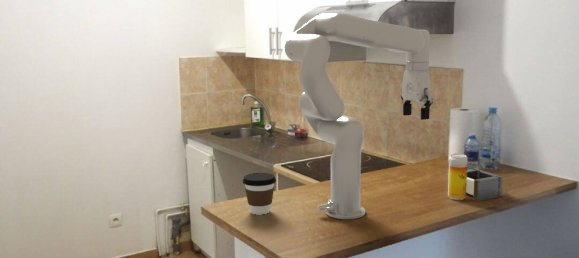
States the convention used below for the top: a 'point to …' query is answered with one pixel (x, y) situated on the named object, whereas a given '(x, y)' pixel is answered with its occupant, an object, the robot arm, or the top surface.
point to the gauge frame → (485, 185)
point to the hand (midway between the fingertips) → (415, 117)
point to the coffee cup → (259, 192)
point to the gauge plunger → (471, 182)
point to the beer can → (457, 176)
